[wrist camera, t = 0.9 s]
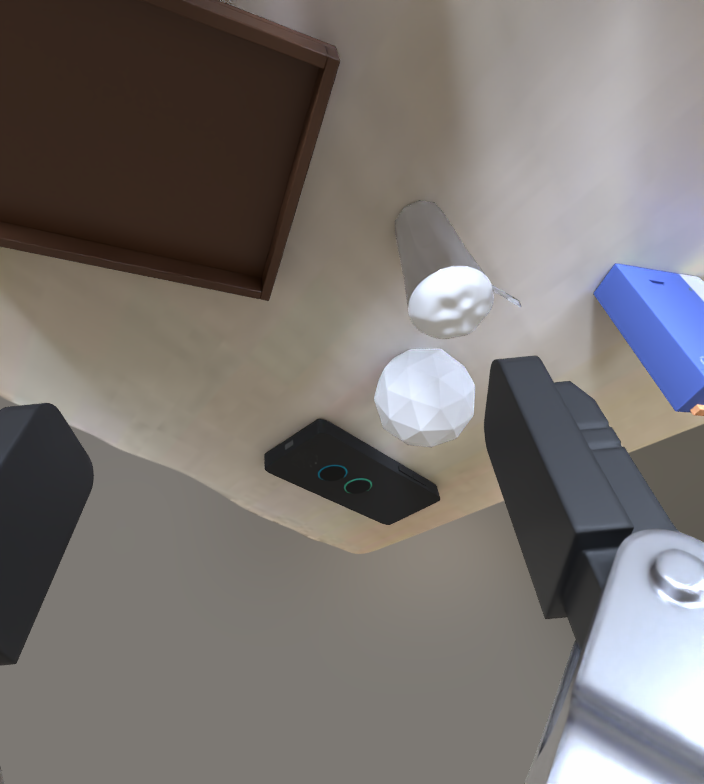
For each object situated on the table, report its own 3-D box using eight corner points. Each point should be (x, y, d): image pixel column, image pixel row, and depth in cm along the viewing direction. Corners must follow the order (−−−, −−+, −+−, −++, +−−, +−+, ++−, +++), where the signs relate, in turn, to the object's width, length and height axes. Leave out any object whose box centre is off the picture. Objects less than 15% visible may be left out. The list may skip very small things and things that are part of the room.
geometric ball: (400, 324, 42) (429, 331, 34) (471, 377, 44) (514, 396, 36) (347, 398, 42) (364, 422, 35) (420, 447, 44) (451, 481, 37)
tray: (-80, 206, 27) (-97, 227, 26) (-178, -156, 18) (-214, -153, 16) (268, 281, 34) (269, 301, 32) (335, 46, 24) (340, 60, 23)
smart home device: (323, 431, 44) (444, 499, 57) (322, 415, 45) (440, 486, 58) (260, 471, 48) (387, 527, 60) (260, 456, 49) (384, 514, 61)
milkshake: (474, 230, 33) (528, 334, 26) (398, 265, 34) (431, 371, 28) (455, 169, 29) (512, 270, 23) (372, 210, 31) (403, 316, 24)
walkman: (592, 293, 38) (678, 416, 30) (614, 262, 36) (712, 386, 28) (674, 305, 40) (774, 423, 32) (699, 276, 38) (813, 395, 30)
